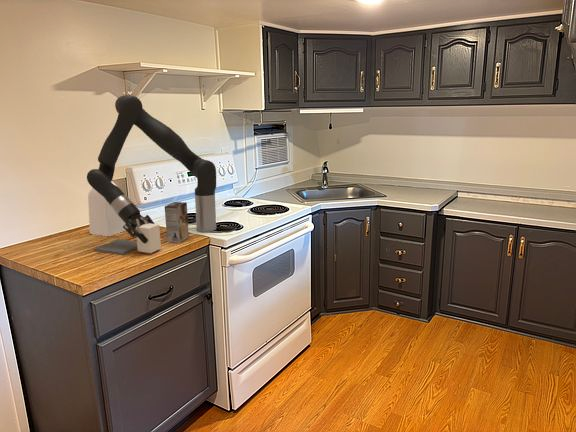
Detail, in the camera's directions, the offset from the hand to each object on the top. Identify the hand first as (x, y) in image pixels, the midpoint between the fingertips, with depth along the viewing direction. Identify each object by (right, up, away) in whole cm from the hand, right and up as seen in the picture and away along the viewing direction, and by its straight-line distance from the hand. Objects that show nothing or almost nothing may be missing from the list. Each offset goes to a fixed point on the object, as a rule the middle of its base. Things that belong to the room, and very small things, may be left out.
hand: (152, 239), depth 177 cm
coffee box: (+6, -1, +18) cm, 19 cm away
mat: (-15, -4, +6) cm, 17 cm away
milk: (-29, +2, +30) cm, 42 cm away
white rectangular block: (-2, -4, +2) cm, 5 cm away
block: (-2, -5, +2) cm, 6 cm away
